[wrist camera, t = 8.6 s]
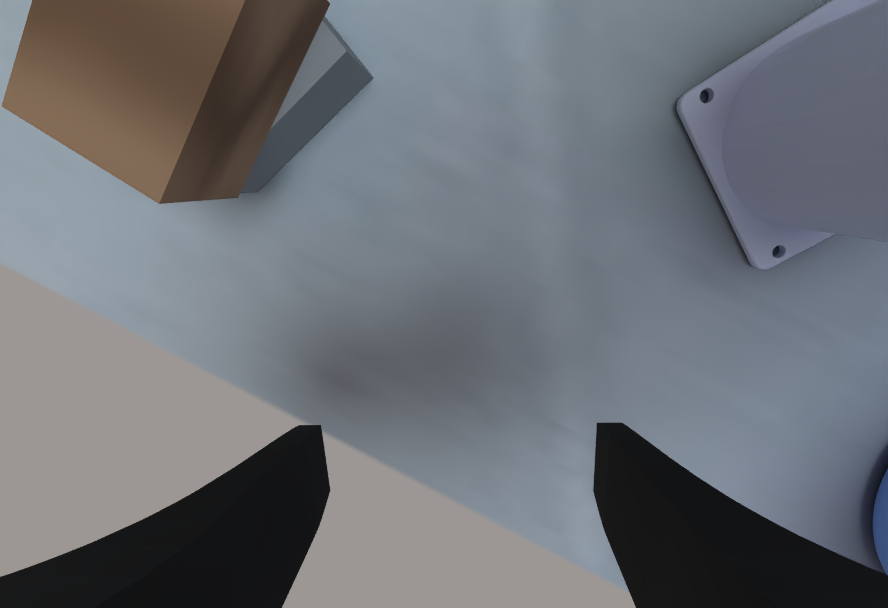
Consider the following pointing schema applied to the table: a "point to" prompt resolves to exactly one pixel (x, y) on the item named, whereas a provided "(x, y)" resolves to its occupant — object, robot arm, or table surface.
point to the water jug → (881, 522)
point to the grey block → (309, 102)
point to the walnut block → (162, 85)
